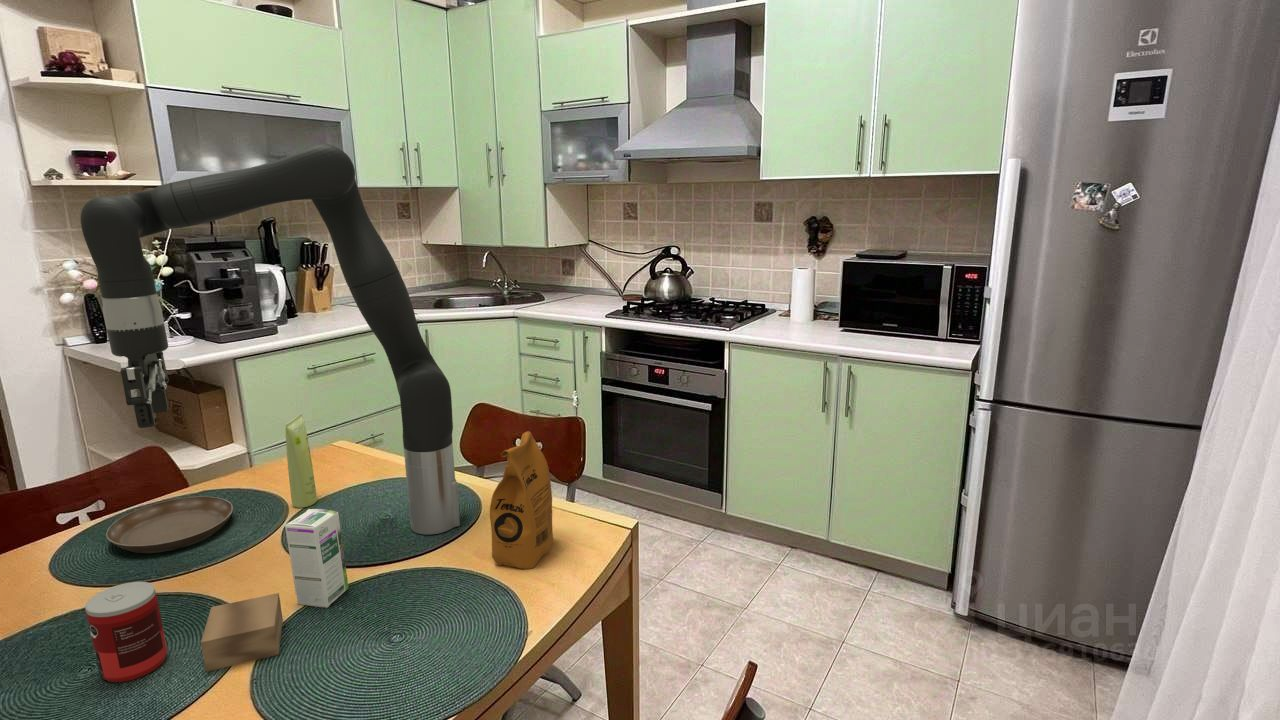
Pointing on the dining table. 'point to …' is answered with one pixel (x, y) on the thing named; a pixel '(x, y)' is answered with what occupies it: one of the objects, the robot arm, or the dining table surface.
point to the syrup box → (317, 557)
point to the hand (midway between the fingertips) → (154, 419)
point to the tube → (300, 464)
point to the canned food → (126, 631)
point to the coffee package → (522, 507)
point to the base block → (242, 632)
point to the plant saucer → (170, 524)
